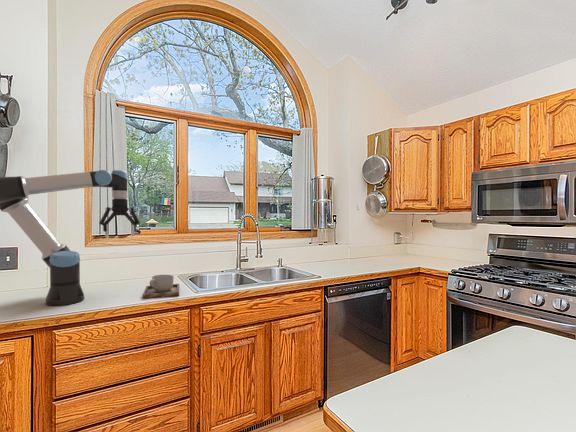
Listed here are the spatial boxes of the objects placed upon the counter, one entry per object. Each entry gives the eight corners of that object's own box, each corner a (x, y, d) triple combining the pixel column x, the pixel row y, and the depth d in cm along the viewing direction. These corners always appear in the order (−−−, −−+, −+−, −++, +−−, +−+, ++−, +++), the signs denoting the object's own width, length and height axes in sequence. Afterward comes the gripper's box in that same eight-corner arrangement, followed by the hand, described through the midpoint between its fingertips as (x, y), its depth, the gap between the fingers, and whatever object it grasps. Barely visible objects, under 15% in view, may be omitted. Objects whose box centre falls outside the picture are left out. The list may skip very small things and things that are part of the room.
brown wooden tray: (142, 298, 160) (142, 294, 160) (146, 289, 179) (146, 285, 179) (179, 296, 165) (179, 292, 165) (179, 287, 184) (179, 283, 184)
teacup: (165, 287, 181) (165, 273, 181) (178, 290, 175) (178, 275, 175) (142, 292, 169) (142, 277, 169) (154, 295, 163) (154, 279, 163)
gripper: (97, 197, 169) (97, 238, 169) (145, 199, 187) (145, 236, 188) (92, 198, 174) (92, 237, 174) (139, 199, 192) (139, 235, 193)
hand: (120, 237), depth 181 cm, fingers open, 13 cm apart
